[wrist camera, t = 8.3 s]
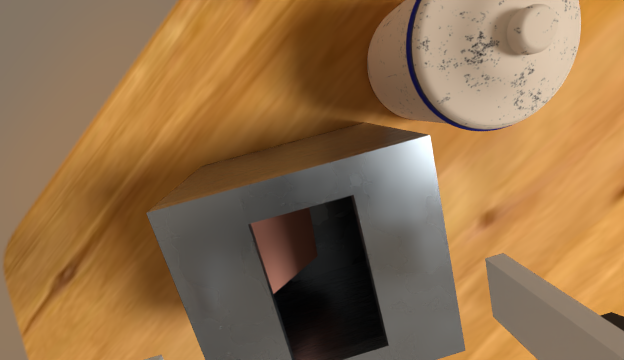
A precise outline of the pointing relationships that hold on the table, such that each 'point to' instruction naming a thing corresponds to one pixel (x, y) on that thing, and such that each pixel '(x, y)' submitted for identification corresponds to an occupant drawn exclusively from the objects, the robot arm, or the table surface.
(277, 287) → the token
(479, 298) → the table surface
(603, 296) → the table surface
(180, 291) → the grey hollow block
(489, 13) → the teacup with lid
